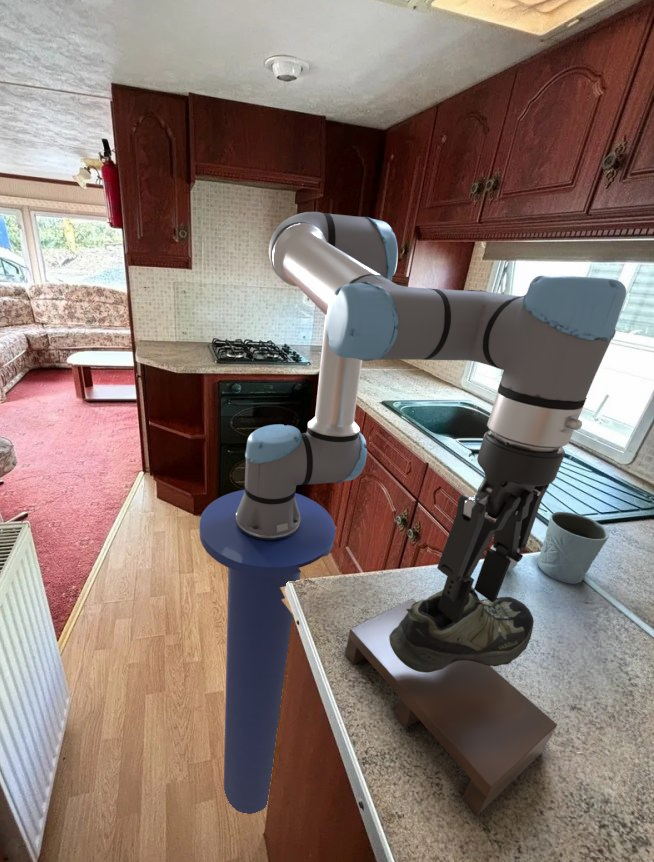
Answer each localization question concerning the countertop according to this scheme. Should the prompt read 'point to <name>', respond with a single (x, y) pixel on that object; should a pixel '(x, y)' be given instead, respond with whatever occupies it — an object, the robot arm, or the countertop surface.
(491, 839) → the countertop surface
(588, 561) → the embossed plant pot
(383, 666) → the shoe shelf
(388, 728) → the countertop surface
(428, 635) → the hiking shoe
